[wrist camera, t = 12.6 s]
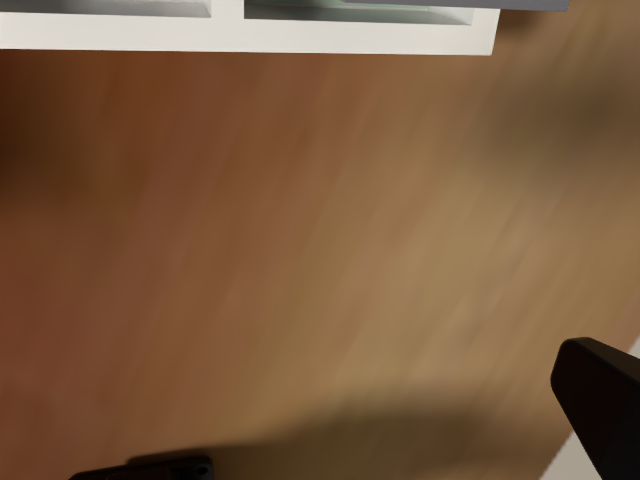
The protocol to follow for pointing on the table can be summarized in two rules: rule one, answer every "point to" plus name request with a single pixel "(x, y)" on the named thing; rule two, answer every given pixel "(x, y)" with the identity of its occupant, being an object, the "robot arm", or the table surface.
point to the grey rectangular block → (479, 4)
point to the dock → (246, 26)
